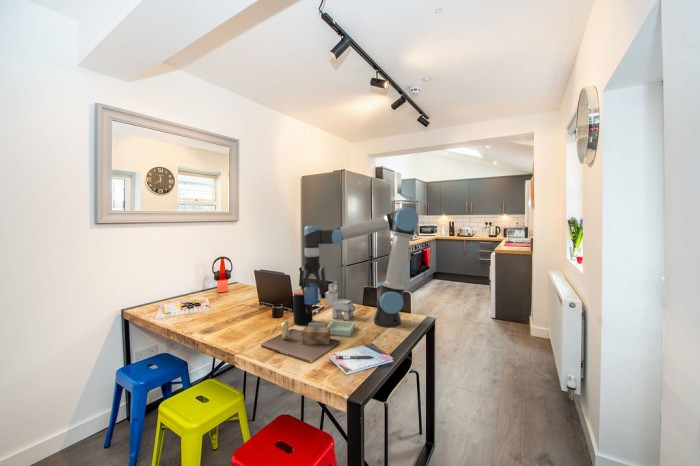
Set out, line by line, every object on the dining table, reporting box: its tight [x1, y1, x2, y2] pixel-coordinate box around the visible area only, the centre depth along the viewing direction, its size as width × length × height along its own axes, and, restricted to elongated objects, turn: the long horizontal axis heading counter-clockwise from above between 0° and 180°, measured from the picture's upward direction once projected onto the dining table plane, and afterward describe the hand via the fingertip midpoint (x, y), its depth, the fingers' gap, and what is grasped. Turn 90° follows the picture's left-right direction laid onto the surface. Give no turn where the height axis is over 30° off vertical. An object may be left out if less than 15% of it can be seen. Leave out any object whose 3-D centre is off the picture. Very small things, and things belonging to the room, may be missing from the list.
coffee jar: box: [292, 288, 313, 327], centre depth 167 cm, size 11×11×18 cm
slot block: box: [300, 322, 325, 335], centre depth 153 cm, size 8×12×2 cm, turn 168°
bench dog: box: [281, 321, 290, 340], centre depth 144 cm, size 3×3×8 cm
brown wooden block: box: [301, 326, 331, 345], centre depth 140 cm, size 12×7×6 cm, turn 87°
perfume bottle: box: [305, 278, 322, 306], centre depth 153 cm, size 6×6×12 cm
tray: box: [326, 320, 356, 338], centre depth 153 cm, size 13×13×3 cm
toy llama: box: [324, 282, 356, 322], centre depth 176 cm, size 8×18×20 cm, turn 66°
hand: (312, 299), depth 153 cm, fingers closed on perfume bottle, 7 cm apart
